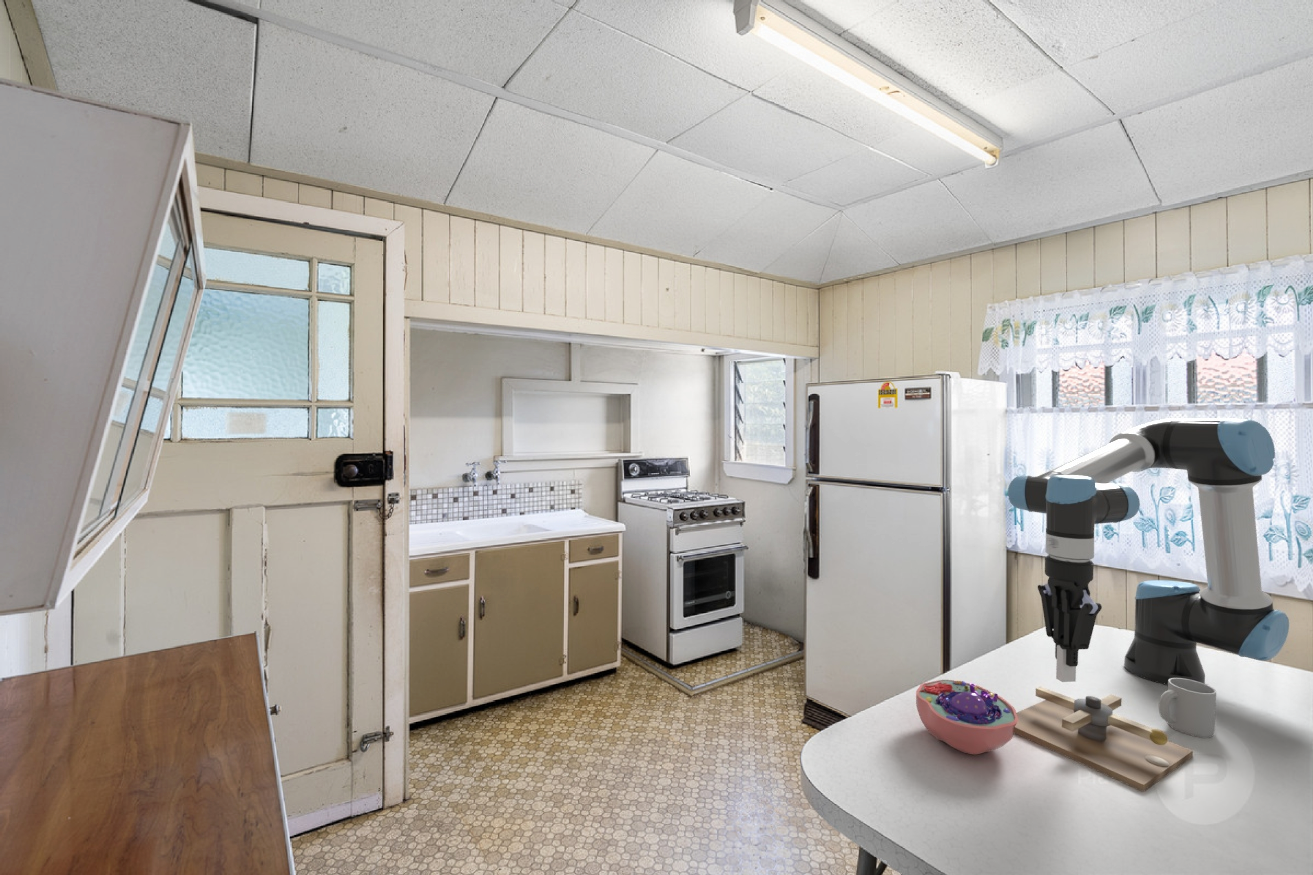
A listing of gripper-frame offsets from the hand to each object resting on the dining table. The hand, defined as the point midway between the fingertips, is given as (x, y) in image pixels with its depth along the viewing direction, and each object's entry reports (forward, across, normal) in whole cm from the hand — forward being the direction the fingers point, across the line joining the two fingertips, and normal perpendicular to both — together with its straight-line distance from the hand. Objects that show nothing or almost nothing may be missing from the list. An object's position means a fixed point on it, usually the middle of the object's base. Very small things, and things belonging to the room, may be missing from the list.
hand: (1065, 679), depth 111 cm
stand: (+13, -2, +7) cm, 15 cm away
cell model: (+13, -2, -19) cm, 23 cm away
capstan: (+9, -1, +8) cm, 12 cm away
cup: (+14, -5, +30) cm, 33 cm away
